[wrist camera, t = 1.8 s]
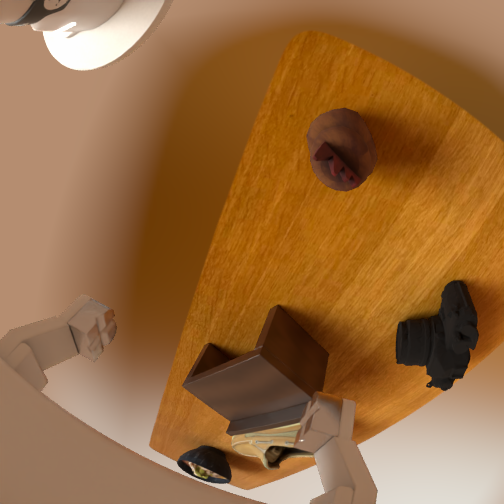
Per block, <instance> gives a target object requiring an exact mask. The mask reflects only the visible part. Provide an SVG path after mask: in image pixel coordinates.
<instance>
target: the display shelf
mask: <svg viewBox="0 0 504 504" xmlns="http://www.w3.org/2000/svg"><path fill="white" fill-rule="evenodd" d="M328 357H329V354H328V353H327V352H326V351H325V350H324V349H323V348H322V347H321V346H320V345H319V344H318V343H317V342H316V341H315V340H314V339H313V338H312V337H311V336H310V335H309V334H308V333H307V332H306V331H305V330H304V329H302V328H301V327H300V326H299V325H298V324H297V323H296V322H295V321H294V320H293V319H292V318H291V317H290V316H289V315H288V314H287V313H286V312H285V311H284V310H283V309H282V308H281V307H280V306H279V305H277V306H275V307H273V308H271V309H270V311H269V314H268V316H267V319H266V321H265V324H264V326H263V329H262V331H261V334H260V336H259V339H258V341H257V344H256V346H255V349H254V350H253V351H251V352H249V353H246V354H244V355H242V356H240V357H237V358H235V359H233V360H229V359H228V358H227V357H226V356H225V355H223V354H222V353H221V352H220V351H219V350H218V349H216V348H215V347H214V346H213V345H212V344H211V343H208V344H206V345H204V347H203V349H202V351H201V353H200V354H199V356H198V358H197V360H196V362H195V363H194V365H193V367H192V369H191V371H190V372H189V374H188V376H187V378H186V380H185V381H184V383H183V385H182V386H183V387H184V388H185V389H186V390H188V391H189V392H190V393H192V394H193V395H194V396H196V397H197V398H198V399H200V400H201V401H202V402H204V403H205V404H206V405H208V406H209V407H211V408H212V409H213V410H215V411H216V412H218V413H219V414H220V415H222V416H223V417H225V418H226V419H228V420H229V421H231V422H230V424H229V426H228V429H227V431H226V433H227V434H229V435H230V436H234V435H240V434H246V433H252V432H258V431H263V430H268V429H273V428H278V427H283V426H288V425H292V424H296V423H300V419H301V415H302V412H303V410H304V408H305V406H306V404H307V403H308V401H310V400H312V397H313V394H314V393H315V392H316V391H319V392H322V390H323V385H324V379H325V374H326V368H327V363H328Z"/></svg>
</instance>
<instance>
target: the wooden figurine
mask: <svg viewBox="0 0 504 504" xmlns="http://www.w3.org/2000/svg"><path fill="white" fill-rule="evenodd" d="M307 141H308V147H309V150H310V161H311V165H312V168H313V171H314V173H315V174H316V176H317V177H318V179H319V180H320V181H321V182H323V183H324V184H325V185H326V186H328V187H330V188H332V189H335V190H338V191H349V190H352V189H354V188H357V187H359V186H360V185H361V184H362V183H363V182H364V181H365V180H366V179H367V177H368V176H369V175H370V174H371V173H372V172H373V169H374V167H375V164H376V162H377V153H376V147H375V144H374V141H373V138H372V136H371V133H370V131H369V129H368V127H367V125H366V123H365V122H364V120H363V119H362V118H361V116H360V115H359V114H358V112H355V111H352V110H350V109H347V108H341V109H334V110H331V111H328V112H326V113H323V114H321V115H320V116H318V117H317V118H316V119H315V120H314V121H313V122H312V123H311V125H310V128H309V130H308V133H307Z"/></svg>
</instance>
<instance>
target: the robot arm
mask: <svg viewBox="0 0 504 504" xmlns="http://www.w3.org/2000/svg"><path fill="white" fill-rule="evenodd" d="M123 1H124V0H0V24H4V23H5V24H7V25H9V26H13V25H14V26H24V25H29V24H30V25H31V26H32V28H33V30H35V31H55V32H53V33H51V34H50V36H54V35H56V34H58V33H60V34H61V36H62V37H63V38H71V37H73V36H74V35H76V34H77V33H78V32H80V31H85V30H91V29H94V28H96V27H98V26H100V25H102V24H103V23H105V22H106V21H107V20H108V19H110V18H111V17H112V16H113V15H114V13H115V12H116V11H117V10H118V9H119V7H120V6H121V4H122V3H123ZM114 316H115V314H114V310H112V309H110V308H109V307H107V306H105V305H103V304H101V303H99V302H97V301H96V300H94V299H92V298H90V297H88V296H87V295H85V294H83V295H80V296H79V297H78V298H77V299H76V300H75V301H74V302H73V303H72V304H71V305H70V306H69V307H68V308H67V309H66V310H65V311H64V312H63V313H62V314H61V315H60V316H59V317H58V318H57V317H51V318H48V319H45V320H41V321H38V322H35V323H31V324H28V325H25V326H21V327H18V328H15V329H12V330H10V331H9V332H8V333H7V334H6V335H5V336H4V337H3V338H2V339H1V340H0V504H266V503H262V502H259V501H255V500H252V499H248V498H245V497H242V496H239V495H236V494H232V493H229V492H226V491H223V490H220V489H218V488H215V487H212V486H209V485H207V484H204V483H202V482H199V481H196V480H194V479H192V478H189V477H187V476H184V475H182V474H180V473H177V472H175V471H173V470H170V469H168V468H166V467H164V466H161V465H159V464H157V463H155V462H153V461H151V460H149V459H147V458H145V457H143V456H141V455H139V454H137V453H135V452H134V451H132V450H130V449H128V448H126V447H124V446H122V445H121V444H119V443H117V442H115V441H114V440H112V439H110V438H108V437H107V436H105V435H103V434H102V433H100V432H98V431H97V430H95V429H93V428H92V427H90V426H89V425H87V424H86V423H84V422H82V421H81V420H79V419H78V418H76V417H75V416H74V415H72V414H70V413H69V412H68V411H66V410H65V409H63V408H62V407H60V406H59V405H58V404H56V403H55V402H54V401H52V400H51V399H50V398H48V397H47V396H46V395H44V394H43V393H42V392H41V391H42V389H43V388H44V387H45V385H46V384H47V383H48V380H47V378H46V376H45V374H44V372H43V371H44V370H46V369H48V368H50V367H52V366H54V365H57V364H59V363H61V362H63V361H65V360H67V359H70V358H72V357H74V356H76V355H78V353H79V354H81V355H82V356H84V357H86V358H88V359H89V360H91V361H93V362H95V361H96V360H97V359H98V357H99V356H100V355H101V353H102V352H103V346H104V345H107V344H110V342H111V341H112V339H113V338H114V336H115V334H116V329H117V326H116V323H115V321H114V320H113V317H114ZM355 409H356V403H355V401H352V400H348V399H344V398H342V397H338V396H334V395H330V394H327V393H323V392H319V391H316V392H315V393H314V394H313V397H312V400H310V401H308V403H307V404H306V406H305V408H304V410H303V412H302V415H301V419H300V425H301V428H300V429H299V431H298V432H297V434H296V438H295V442H294V446H293V447H294V448H297V449H301V450H304V451H308V452H311V453H314V458H315V461H316V464H317V467H318V471H319V474H320V477H321V480H322V484H323V487H324V490H325V493H324V494H322V495H320V496H318V497H316V498H314V499H312V500H311V501H310V504H376V497H377V488H376V486H375V484H374V481H373V479H372V477H371V475H370V473H369V470H368V468H367V466H366V464H365V462H364V460H363V457H362V455H361V453H360V451H359V449H358V447H357V444H356V442H355V441H352V433H353V426H354V417H355Z"/></svg>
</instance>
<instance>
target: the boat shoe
mask: <svg viewBox="0 0 504 504" xmlns="http://www.w3.org/2000/svg"><path fill="white" fill-rule="evenodd" d="M300 428H301V425H300V423H296V424H292V425H288V426H283V427H278V428H273V429H268V430H263V431H258V432H252V433H246V434H240V435H234V436H233V437H232V442H231V445H232V448H233V449H234V450H235V451H236V452H237V453H239V454H241V455H244V456H249V457H259V458H260V459H261V461H262V462H263V464H264V466H265V468H267V469H269V470H275V469H279V467H280V466H279V464H280V463H281V462H282V461H284V460H286V459H287V458H297V457H310V458H312V457H314V453H311V452H308V451H304V450H301V449H297V448H294V447H293V446H294V442H295V438H296V434H297V432H298V431H299V429H300Z"/></svg>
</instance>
